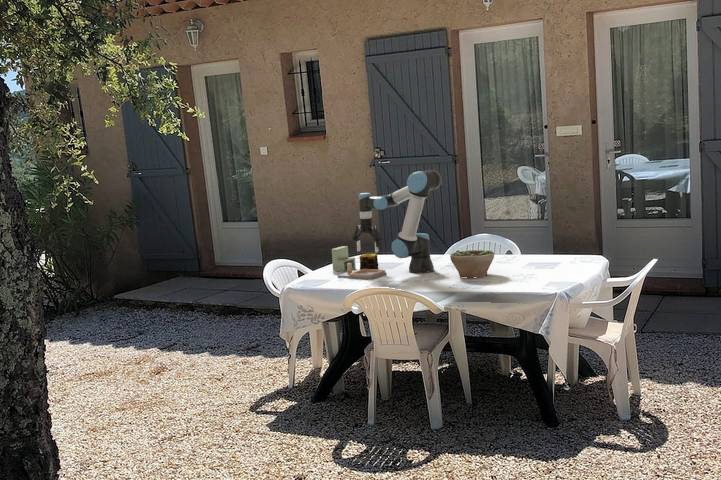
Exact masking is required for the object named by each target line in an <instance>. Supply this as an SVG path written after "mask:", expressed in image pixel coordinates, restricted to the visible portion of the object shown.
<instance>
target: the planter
mask: <svg viewBox="0 0 721 480" xmlns="http://www.w3.org/2000/svg"><path fill="white" fill-rule="evenodd" d="M449 256H450V257H449V258H450V261H451V263H452V264H453V266H454V268H456V271H457V272H458V276H460V277H459V278H461V277H467V278H466V279H475V278H474V277H481V278H484V277H483V276H485V277H487V276H488V271H489V268H491V267H490V266H491V265H492V262H493V260H494V258H495V252H494V251H493V250H481V249H474V250H461V251H455V252H454V251H453V252H452V253H450V254H449ZM486 275H487V276H486Z"/></svg>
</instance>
